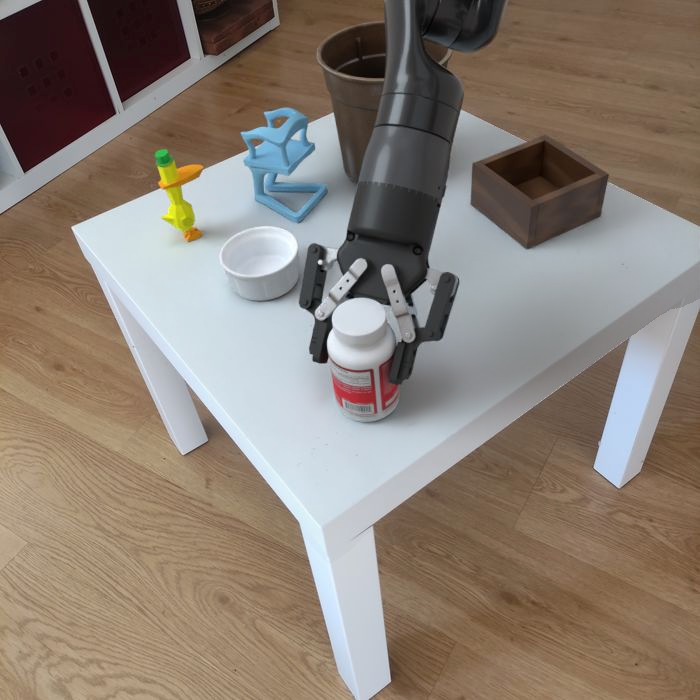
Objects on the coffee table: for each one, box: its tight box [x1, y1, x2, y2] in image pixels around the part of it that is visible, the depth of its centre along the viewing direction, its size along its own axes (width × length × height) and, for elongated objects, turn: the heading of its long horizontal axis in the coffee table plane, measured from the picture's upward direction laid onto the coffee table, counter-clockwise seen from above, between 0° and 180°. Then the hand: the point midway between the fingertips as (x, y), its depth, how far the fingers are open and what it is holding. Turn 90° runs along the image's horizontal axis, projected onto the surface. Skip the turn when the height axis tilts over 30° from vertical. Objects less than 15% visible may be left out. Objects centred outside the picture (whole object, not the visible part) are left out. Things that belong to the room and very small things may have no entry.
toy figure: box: [154, 148, 204, 243], centre depth 86 cm, size 7×4×12 cm, turn 125°
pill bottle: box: [327, 298, 401, 423], centre depth 65 cm, size 6×6×11 cm
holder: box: [470, 134, 610, 250], centre depth 86 cm, size 11×11×6 cm
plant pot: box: [316, 20, 454, 184], centre depth 91 cm, size 16×16×16 cm
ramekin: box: [218, 225, 300, 302], centre depth 81 cm, size 9×9×4 cm
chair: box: [240, 107, 329, 223], centre depth 89 cm, size 8×8×12 cm
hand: (356, 372), depth 64 cm, fingers open, 7 cm apart
